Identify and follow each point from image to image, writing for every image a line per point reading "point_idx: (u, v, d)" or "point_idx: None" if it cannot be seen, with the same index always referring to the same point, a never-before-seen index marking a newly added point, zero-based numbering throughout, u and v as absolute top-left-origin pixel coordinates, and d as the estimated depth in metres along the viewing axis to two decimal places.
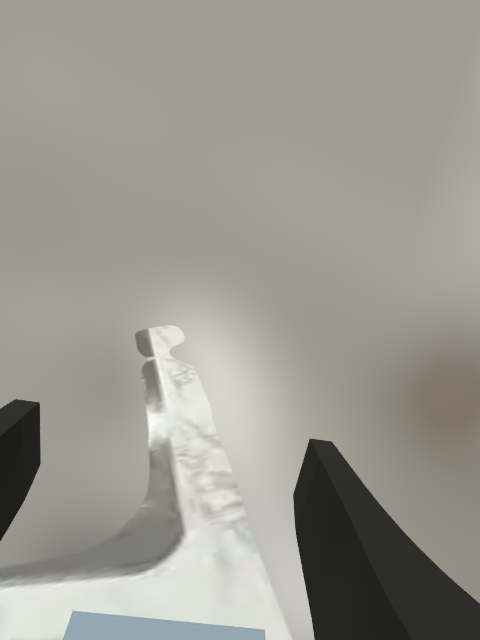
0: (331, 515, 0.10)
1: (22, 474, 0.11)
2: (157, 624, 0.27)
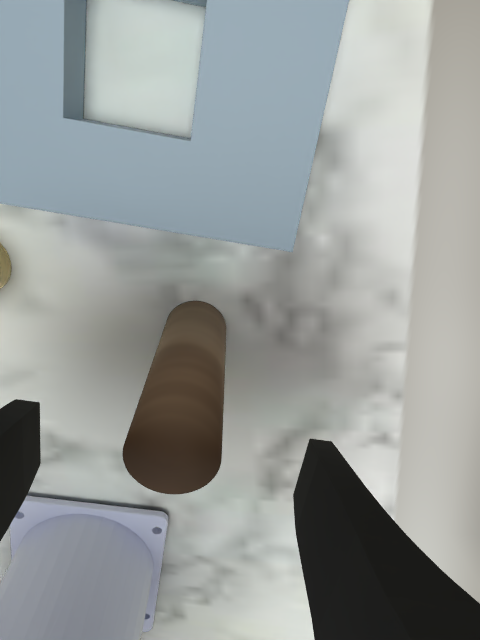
0: (331, 515, 0.10)
1: (22, 474, 0.11)
2: None
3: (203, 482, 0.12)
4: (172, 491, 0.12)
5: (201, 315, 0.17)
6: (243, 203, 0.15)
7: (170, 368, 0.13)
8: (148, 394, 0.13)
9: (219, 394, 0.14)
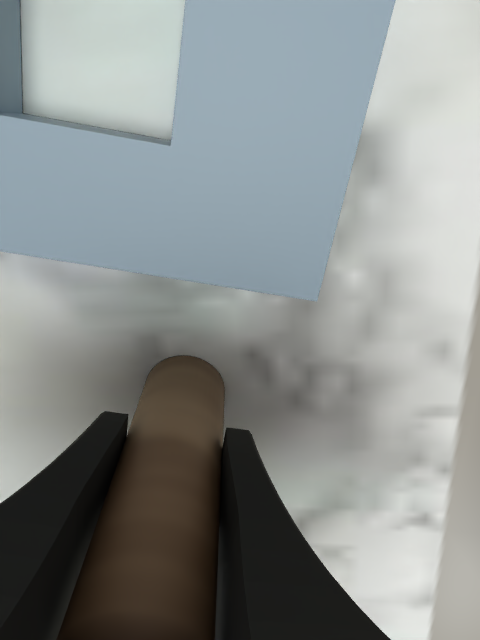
0: (229, 503, 0.09)
1: None
2: None
3: None
4: None
5: (190, 379, 0.13)
6: (248, 234, 0.10)
7: (139, 488, 0.09)
8: (101, 541, 0.08)
9: (214, 526, 0.09)
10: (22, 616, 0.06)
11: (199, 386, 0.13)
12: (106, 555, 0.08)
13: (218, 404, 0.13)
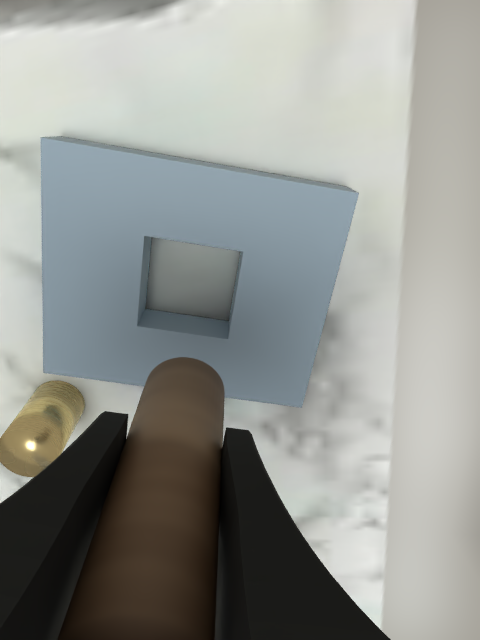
0: (229, 503, 0.09)
1: None
2: (183, 171, 0.17)
3: None
4: None
5: (189, 380, 0.13)
6: (265, 377, 0.20)
7: (138, 490, 0.09)
8: (99, 545, 0.08)
9: (212, 528, 0.09)
10: (22, 616, 0.06)
11: (198, 387, 0.13)
12: (104, 559, 0.08)
13: (217, 405, 0.13)
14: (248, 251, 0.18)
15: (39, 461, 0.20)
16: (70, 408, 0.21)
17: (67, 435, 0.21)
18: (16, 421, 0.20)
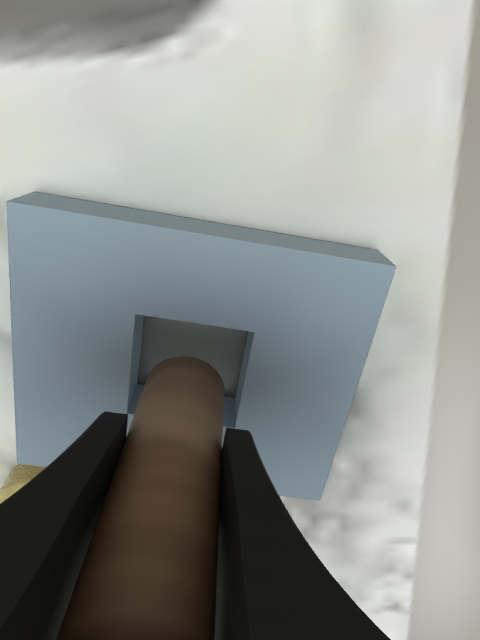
0: (229, 503, 0.09)
1: None
2: (182, 241, 0.14)
3: None
4: None
5: (189, 380, 0.13)
6: (278, 468, 0.17)
7: (137, 490, 0.09)
8: (98, 544, 0.08)
9: (211, 527, 0.09)
10: (22, 616, 0.06)
11: (198, 387, 0.13)
12: (103, 558, 0.08)
13: (217, 404, 0.13)
14: (260, 331, 0.15)
15: None
16: None
17: None
18: None
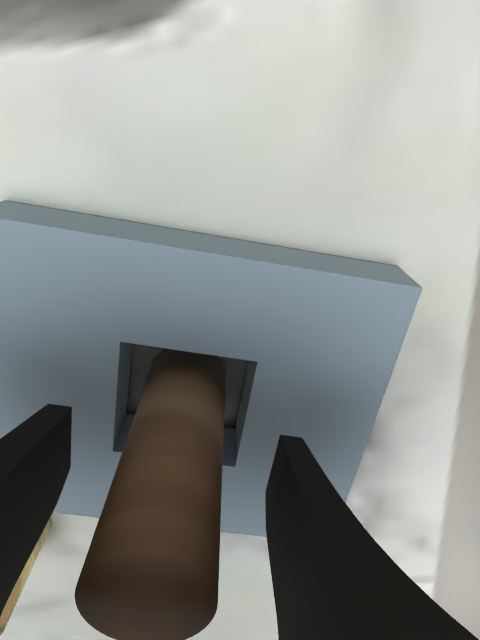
0: (295, 511, 0.09)
1: (56, 478, 0.11)
2: (173, 258, 0.12)
3: (194, 630, 0.08)
4: (151, 638, 0.09)
5: (193, 362, 0.14)
6: None
7: (148, 454, 0.10)
8: (114, 500, 0.09)
9: (215, 488, 0.10)
10: None
11: (201, 368, 0.14)
12: (119, 510, 0.09)
13: (219, 385, 0.14)
14: (264, 361, 0.13)
15: None
16: None
17: (23, 580, 0.16)
18: None
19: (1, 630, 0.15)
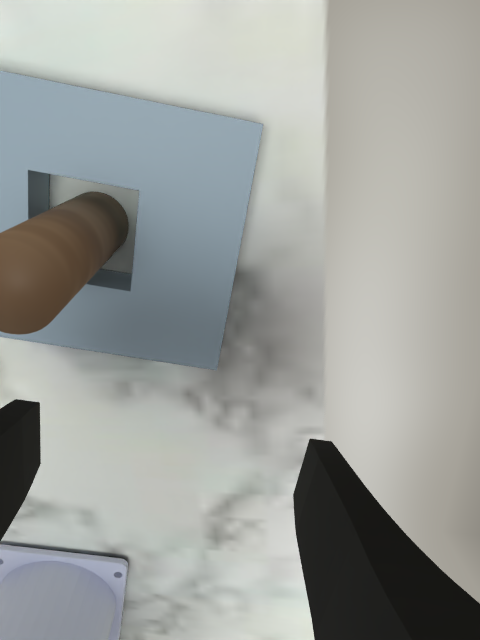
0: (331, 515, 0.10)
1: (22, 474, 0.11)
2: (64, 94, 0.15)
3: (46, 320, 0.12)
4: (19, 332, 0.12)
5: (92, 198, 0.17)
6: (175, 335, 0.19)
7: (29, 220, 0.13)
8: None
9: (80, 247, 0.13)
10: None
11: (98, 202, 0.17)
12: None
13: (113, 216, 0.17)
14: (144, 190, 0.16)
15: None
16: None
17: None
18: None
19: None
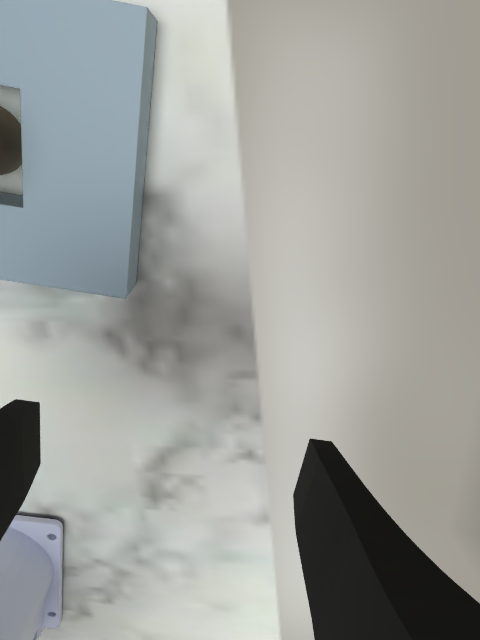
0: (331, 515, 0.10)
1: (22, 474, 0.11)
2: None
3: None
4: None
5: None
6: (77, 258, 0.17)
7: None
8: None
9: None
10: None
11: None
12: None
13: None
14: (26, 88, 0.15)
15: None
16: None
17: None
18: None
19: None
